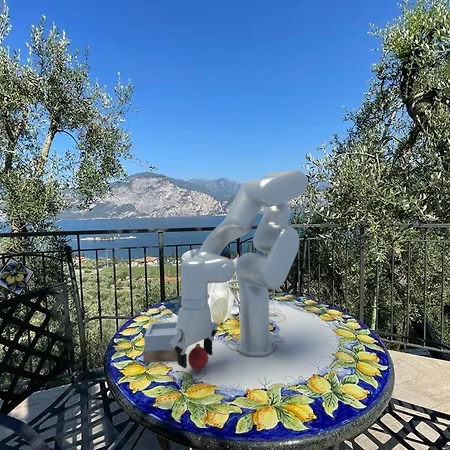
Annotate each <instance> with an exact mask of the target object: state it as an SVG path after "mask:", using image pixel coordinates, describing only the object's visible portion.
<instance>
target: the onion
mask: <svg viewBox="0 0 450 450" xmlns="http://www.w3.org/2000/svg"><path fill="white" fill-rule="evenodd" d="M187 357H188V359H187V363H188V365H189V366H190V367H191V368H192V369H193V370H194V371H197V372H199V371H202V369H204V368H205V367H206V366H207V365H208V361H209V354H207V351H206V350H205V349H204V347H202V346H201V344H200V343H195V347H193V348H192V349H191V350H190V351H189V353H188V356H187Z"/></svg>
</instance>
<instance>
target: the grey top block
mask: <svg viewBox="0 0 450 450" xmlns="http://www.w3.org/2000/svg"><path fill="white" fill-rule="evenodd" d="M176 331H177V321H162V322H161V321H160V322H159V321H158V322H150V323H149V325H148V327H147V329H146V332H145V334H144V336H143V339H144V348H145V351H158V350H173V349H172V347H171V345H170V343H169V341H170V340H171V339H172V338H173V337H174V336H175V335H176ZM178 344H179V342H177V346H178Z"/></svg>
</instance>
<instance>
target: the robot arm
mask: <svg viewBox="0 0 450 450" xmlns="http://www.w3.org/2000/svg"><path fill="white" fill-rule="evenodd" d="M307 187H308V178H307V176H306V174H305V173H304V172H303V171H301V170H299V169H290V170H278V171H272V172H268V173H266V174H265V175H264V176H263V178H257V179H250V180H249V179H248V180H246V181H244V182H243V183H242V184H241V185H240V188H239V189H238V191H237V192H236V196H235V197H234V199H233V201H232V204H231V206H230V208H229V210H228V211H227V214H226V216H225V218H224V219H223V221H222V222H221V223H220V224H218V225H217V226H216V227H215V228H214V229H213V230H212V231H211V232H210V234H208V236H207V237H206V238H205V240H204V241H203V242H202V245H201V247H200V249H199V251H198V253H197V256H196V257H190V258H186V259H183V260H182V262H181V264H180V289H181V292H180V293H181V300H180V301H181V307H179V308H178V311H177V312H178V313H177V321H176V322H177V331H176V335H175V336H174V337H173V338H172V339H171V340H170V341H169V343H170V345H171V347H172V349H173V350H175V351H176V352H177V353H178V361H177V364H178V366H180V367H181V368H183V369H187V366H188V359H187V357H188V356H187V353H186V352H187V349H188V348H189V346H192V345H194V344H195V345H196V344H198V343H199V342H201V341H203V348H204V349H205V350H206V351H207V354H208V356H212V355H213V342H214V341H215V336H216V334H217V329H218V326H219V323H218V322H214V321H213V320H212V312H211V307H210V304H209V299H210V294H209V287H208V286H209V284H223V283H227V282H229V281H231V280H232V279H233V278H234V277H235V275H236V280H237V282H238V290H239V292H238V293H239V314H240V315H239V317H240V318H239V319H240V320H239V321H240V339H238V341H236V344H235V345H236V347H235V348H236V350H237V352H239V353H240V354H241V355H245V356H247V357H255V358H257V357H264V356H269V355H270V354H272V353H273V352H274V351H275V349H276V347H275V345H276V344H285V337H284V336H280V334H278V333H276V334H272V333H271V332H270V331H271V330H270V297H269V296H270V293H269V290H276V289H278V288H280V287H281V286H283V284H284V282H285V281H286V279H287V278H288V277H287V276H288V275H289V274H290V270H291V267H292V265H293V264H294V261H295V259H296V257H297V254H298V251H299V247H300V235H299V233H298V231H297V230H296V229H295V228H294V227H292V226H290V225H288V222H289V221H290V218H291V217H290V216H291V209H290V206H289V203H288V202H289V201H292V200H295V199H297V198H299V197H301V196H302V195H303V194H304V193H305V192H306V190H307ZM261 208H265V209H264V213H263V215H262V217H261V220H260V221H259V223H258V225H257V228H256V230H255V232H254V235H253V237H252V245H253V247H254V248H255V249H257V250H258V251H259V252H263V253H267V254H268V255H265V254H261V253H256V252H246V253H243V254H242V255H240V256H239V257H238V259H237V261H236V264H235V262H233V261H232V260H231V259H230V258H228V257H226V256H224V255H223V256H221V254H222V252H223V250H224V249H225V247H227V245H229V244H230V243H231V242H233V241H235V240H236V239H237V240H238V239H239V238H242V237H244V236H245V235H247V234H248V233H250V231H251V229H252V226H253V225H254V222H255V220H256V218H257V216H258V213H259V212H260V209H261ZM177 342H179V344H178V346H177ZM182 345H183V347H182ZM181 347H182V349H181Z"/></svg>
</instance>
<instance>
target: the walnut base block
mask: <svg viewBox="0 0 450 450" xmlns="http://www.w3.org/2000/svg"><path fill="white" fill-rule="evenodd" d="M183 346H184V344H183V345H182V347H181V349H182V348H183ZM142 355H143V363H144V364H146V363H165V362H166V361H167V362H168V361H170V362H178V353H177V352H176V351H175V350H158V351H145V347H144V349H143V351H142ZM168 363H169V362H168Z"/></svg>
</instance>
